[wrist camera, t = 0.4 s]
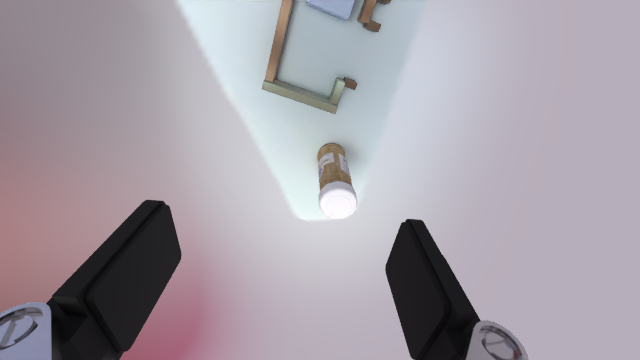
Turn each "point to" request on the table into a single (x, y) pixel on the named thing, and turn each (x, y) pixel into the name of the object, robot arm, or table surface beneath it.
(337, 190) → the sprinkles bottle
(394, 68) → the table surface
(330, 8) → the block
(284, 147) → the table surface
